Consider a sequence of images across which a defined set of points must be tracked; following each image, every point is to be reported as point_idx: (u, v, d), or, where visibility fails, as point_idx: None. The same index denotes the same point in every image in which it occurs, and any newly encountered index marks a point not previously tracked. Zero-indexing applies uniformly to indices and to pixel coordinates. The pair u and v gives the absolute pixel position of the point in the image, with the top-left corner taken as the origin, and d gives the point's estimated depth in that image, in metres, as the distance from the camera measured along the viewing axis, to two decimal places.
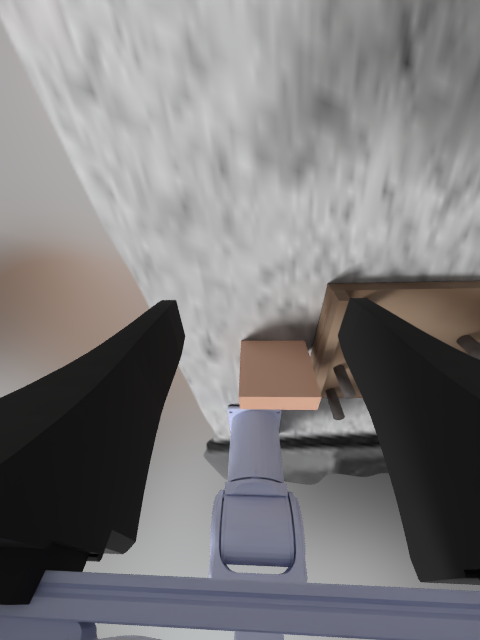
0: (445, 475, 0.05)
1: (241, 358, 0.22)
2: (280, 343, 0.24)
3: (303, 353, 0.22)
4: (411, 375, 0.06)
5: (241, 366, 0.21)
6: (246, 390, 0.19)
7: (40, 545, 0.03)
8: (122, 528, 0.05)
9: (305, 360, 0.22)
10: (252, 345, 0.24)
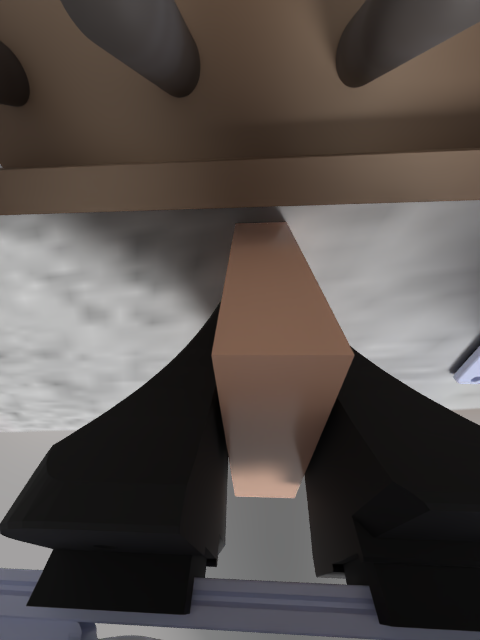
0: (325, 472, 0.05)
1: None
2: None
3: None
4: None
5: None
6: None
7: None
8: (221, 531, 0.05)
9: None
10: None
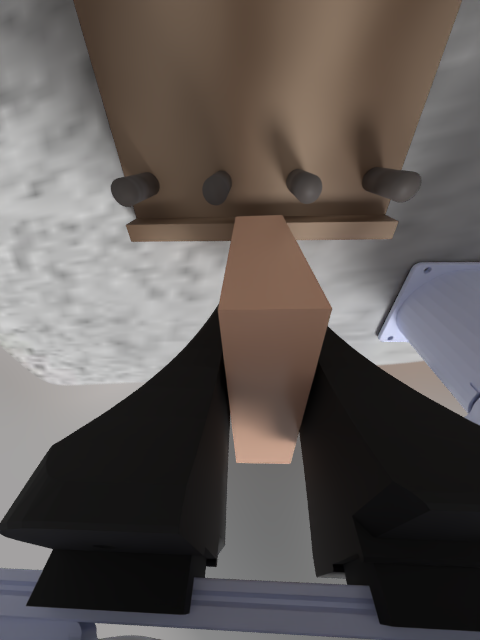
0: (325, 472, 0.05)
1: None
2: None
3: None
4: None
5: None
6: None
7: None
8: (221, 531, 0.05)
9: None
10: None
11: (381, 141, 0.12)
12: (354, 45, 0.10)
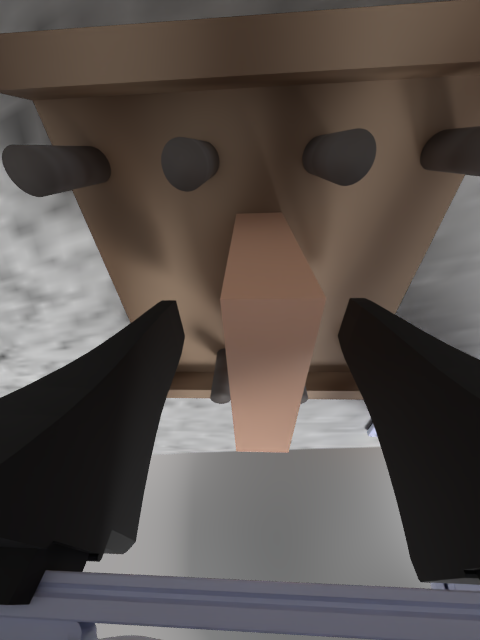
0: (445, 475, 0.05)
1: None
2: None
3: None
4: (411, 375, 0.06)
5: None
6: None
7: (40, 545, 0.03)
8: (122, 527, 0.06)
9: None
10: None
11: None
12: (332, 290, 0.12)
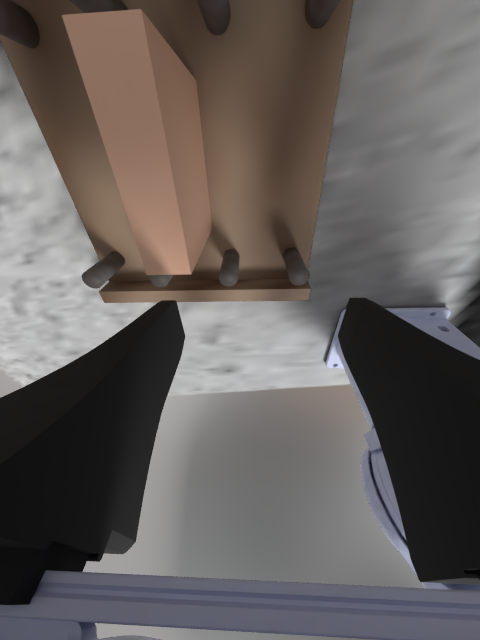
0: (445, 475, 0.05)
1: None
2: None
3: None
4: (411, 375, 0.06)
5: None
6: None
7: (40, 545, 0.03)
8: (123, 527, 0.06)
9: None
10: None
11: (291, 231, 0.15)
12: (257, 174, 0.13)
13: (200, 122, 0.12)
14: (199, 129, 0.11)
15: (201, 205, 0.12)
